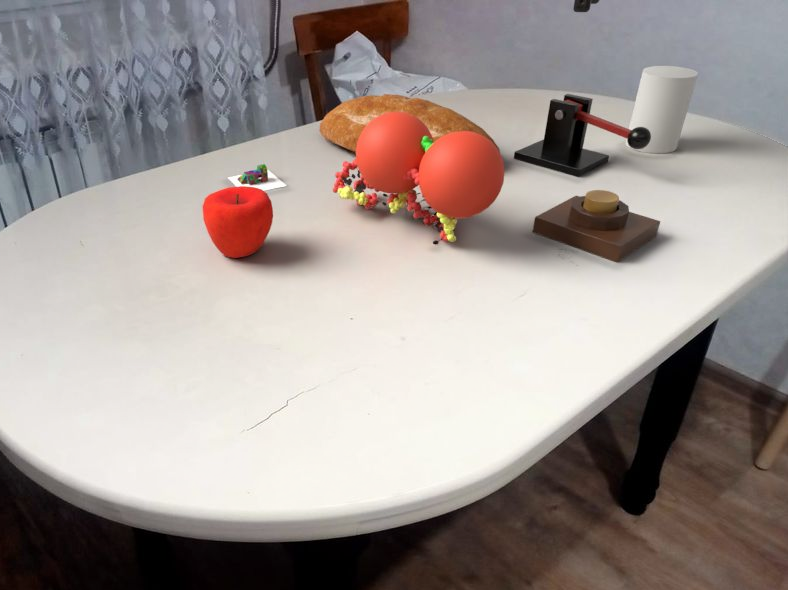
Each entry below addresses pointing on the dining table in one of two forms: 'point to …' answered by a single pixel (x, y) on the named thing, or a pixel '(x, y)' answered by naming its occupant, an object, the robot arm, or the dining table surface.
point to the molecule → (423, 171)
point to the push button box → (596, 228)
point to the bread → (358, 112)
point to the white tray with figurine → (257, 179)
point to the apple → (238, 219)
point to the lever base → (564, 140)
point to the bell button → (601, 201)
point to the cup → (663, 105)
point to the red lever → (617, 129)
